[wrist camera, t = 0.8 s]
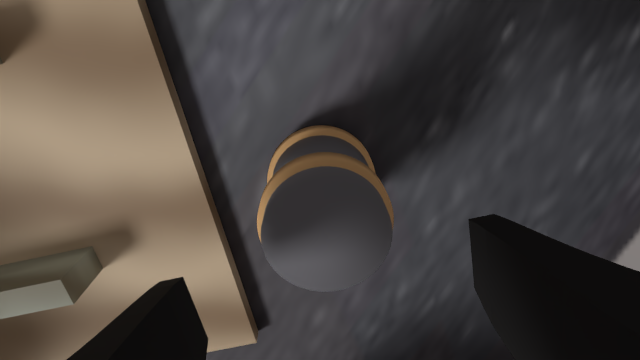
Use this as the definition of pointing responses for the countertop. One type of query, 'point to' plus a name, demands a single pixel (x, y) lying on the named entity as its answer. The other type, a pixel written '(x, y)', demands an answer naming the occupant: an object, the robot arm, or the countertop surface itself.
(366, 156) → the banded gray cylinder
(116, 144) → the shelf
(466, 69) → the countertop surface
